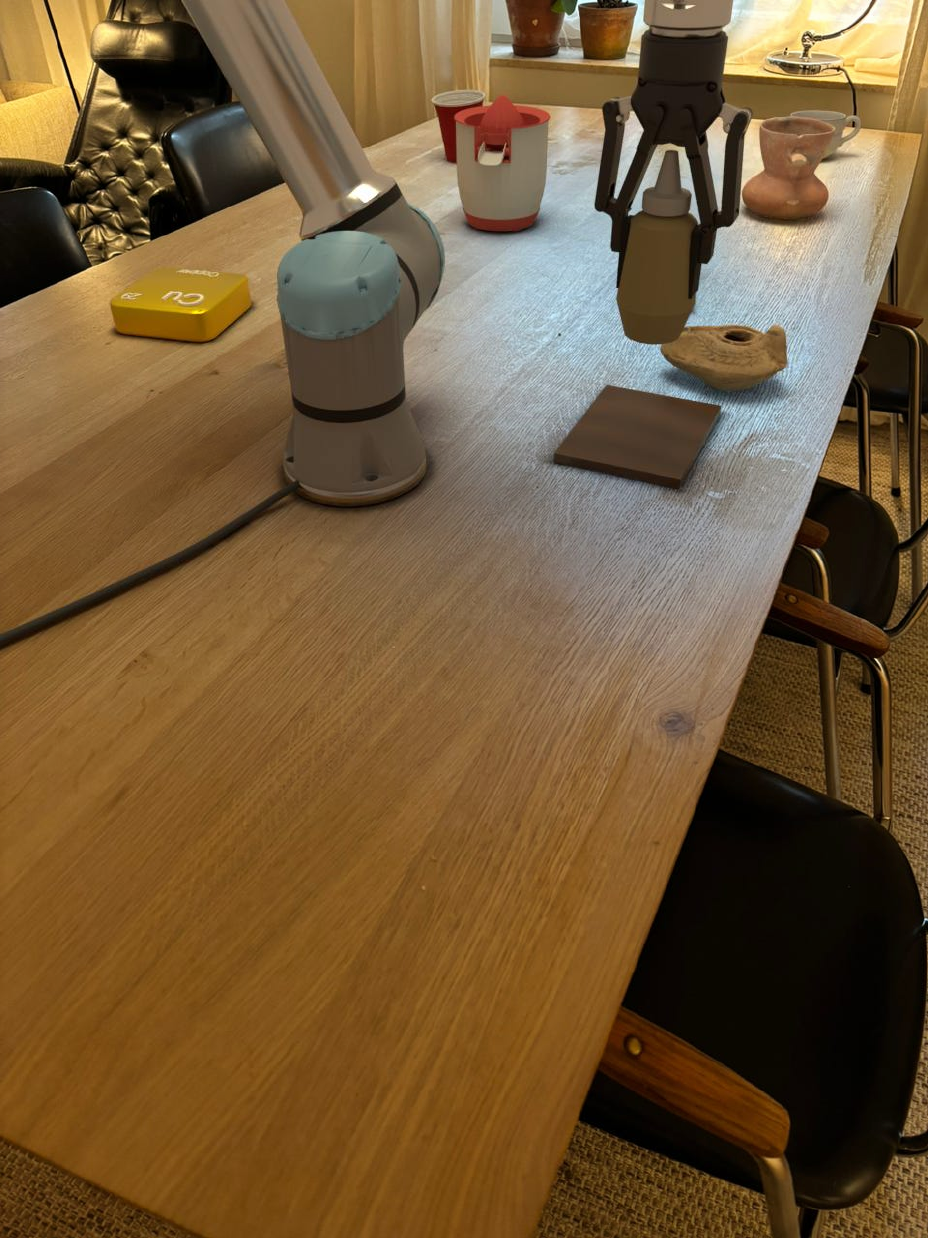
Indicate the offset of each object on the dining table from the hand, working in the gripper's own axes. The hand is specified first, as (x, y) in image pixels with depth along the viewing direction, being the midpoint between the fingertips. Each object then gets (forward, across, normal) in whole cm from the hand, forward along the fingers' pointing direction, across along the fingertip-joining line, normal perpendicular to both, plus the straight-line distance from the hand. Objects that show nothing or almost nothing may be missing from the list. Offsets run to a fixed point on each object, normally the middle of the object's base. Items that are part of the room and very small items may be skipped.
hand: (656, 288), depth 101 cm
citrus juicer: (+17, -44, +63) cm, 79 cm away
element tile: (+17, -69, +8) cm, 72 cm away
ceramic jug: (+17, -1, +88) cm, 90 cm away
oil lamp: (+17, +5, +18) cm, 25 cm away
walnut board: (+17, 0, 0) cm, 17 cm away
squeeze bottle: (+5, 0, 0) cm, 5 cm away
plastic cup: (+17, -68, +98) cm, 121 cm away
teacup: (+17, -1, +127) cm, 128 cm away
